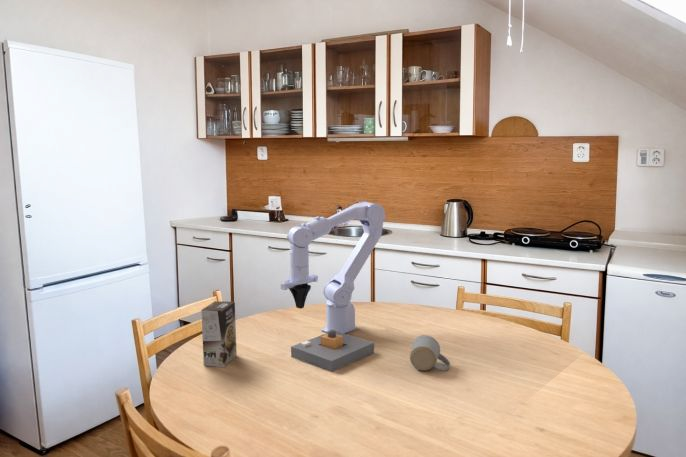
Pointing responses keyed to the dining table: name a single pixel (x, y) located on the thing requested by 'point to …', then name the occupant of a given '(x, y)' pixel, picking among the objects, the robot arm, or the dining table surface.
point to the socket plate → (332, 352)
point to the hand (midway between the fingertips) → (300, 307)
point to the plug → (332, 340)
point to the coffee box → (219, 333)
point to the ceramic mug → (427, 354)
